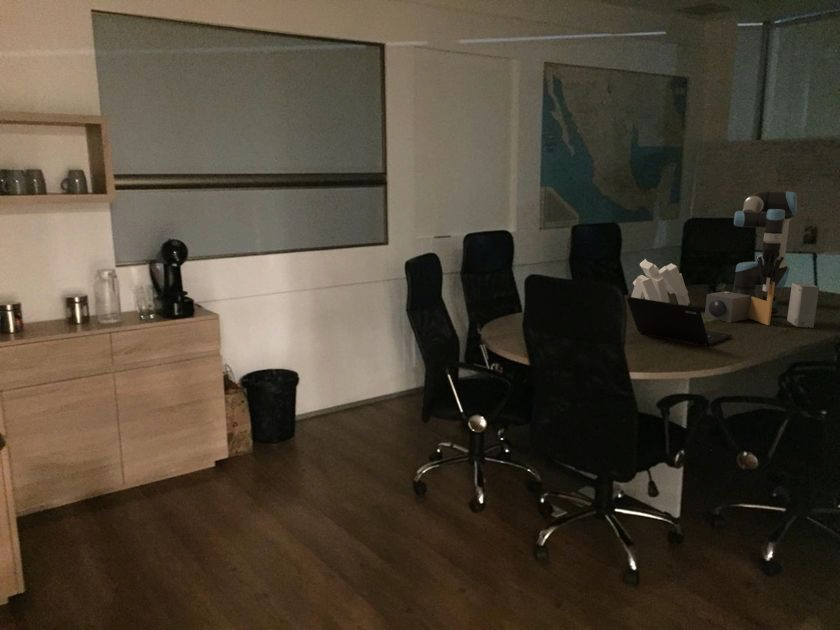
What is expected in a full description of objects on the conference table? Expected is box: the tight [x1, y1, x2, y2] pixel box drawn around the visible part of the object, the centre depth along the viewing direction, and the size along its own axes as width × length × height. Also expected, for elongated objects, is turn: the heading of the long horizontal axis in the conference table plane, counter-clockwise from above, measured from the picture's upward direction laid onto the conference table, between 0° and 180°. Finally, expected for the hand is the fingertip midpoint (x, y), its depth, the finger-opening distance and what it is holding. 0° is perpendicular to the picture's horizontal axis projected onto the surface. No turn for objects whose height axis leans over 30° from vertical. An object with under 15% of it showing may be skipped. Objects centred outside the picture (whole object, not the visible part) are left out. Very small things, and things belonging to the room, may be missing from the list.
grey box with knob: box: [704, 290, 750, 323], centre depth 339 cm, size 18×14×13 cm
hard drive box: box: [786, 281, 820, 329], centre depth 326 cm, size 16×8×20 cm, turn 168°
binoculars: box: [762, 295, 780, 319], centre depth 344 cm, size 9×11×10 cm
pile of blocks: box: [630, 258, 691, 306], centre depth 359 cm, size 35×30×35 cm
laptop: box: [626, 296, 733, 346], centre depth 297 cm, size 33×38×19 cm
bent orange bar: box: [748, 282, 776, 326], centre depth 329 cm, size 16×1×21 cm, turn 6°
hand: (765, 290), depth 321 cm, fingers closed
